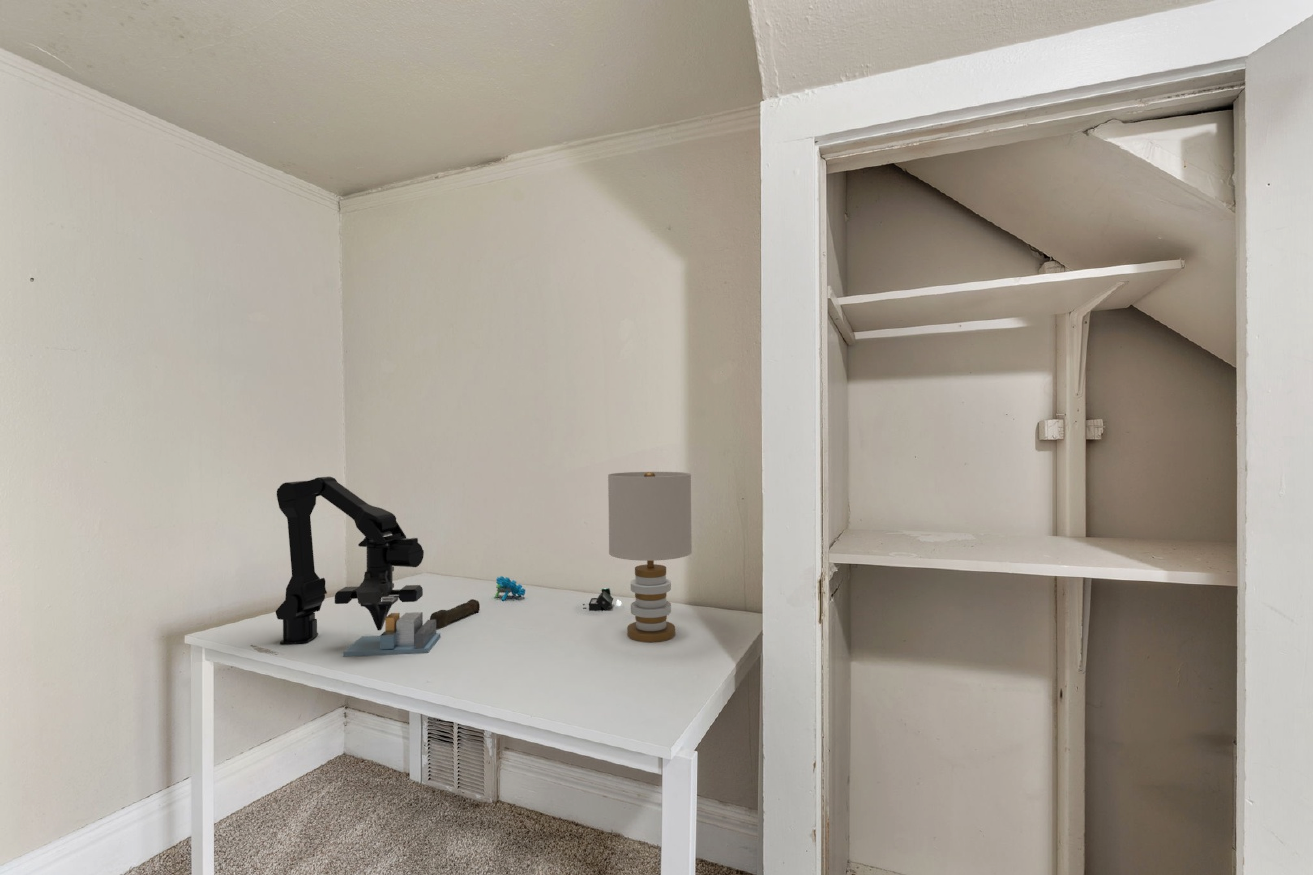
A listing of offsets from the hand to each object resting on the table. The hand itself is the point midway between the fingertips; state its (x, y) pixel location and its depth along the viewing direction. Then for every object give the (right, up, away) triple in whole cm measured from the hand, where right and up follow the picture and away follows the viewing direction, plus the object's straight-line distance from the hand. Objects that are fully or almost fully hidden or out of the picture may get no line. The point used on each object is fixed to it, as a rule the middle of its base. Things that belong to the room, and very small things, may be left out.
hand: (379, 629), depth 145 cm
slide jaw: (+4, -3, 0) cm, 4 cm away
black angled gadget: (+50, -4, +32) cm, 59 cm away
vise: (+3, -4, 0) cm, 5 cm away
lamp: (+65, -4, +7) cm, 66 cm away
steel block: (+7, -3, +1) cm, 8 cm away
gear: (+21, -4, +43) cm, 48 cm away
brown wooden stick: (+11, -5, +20) cm, 24 cm away
